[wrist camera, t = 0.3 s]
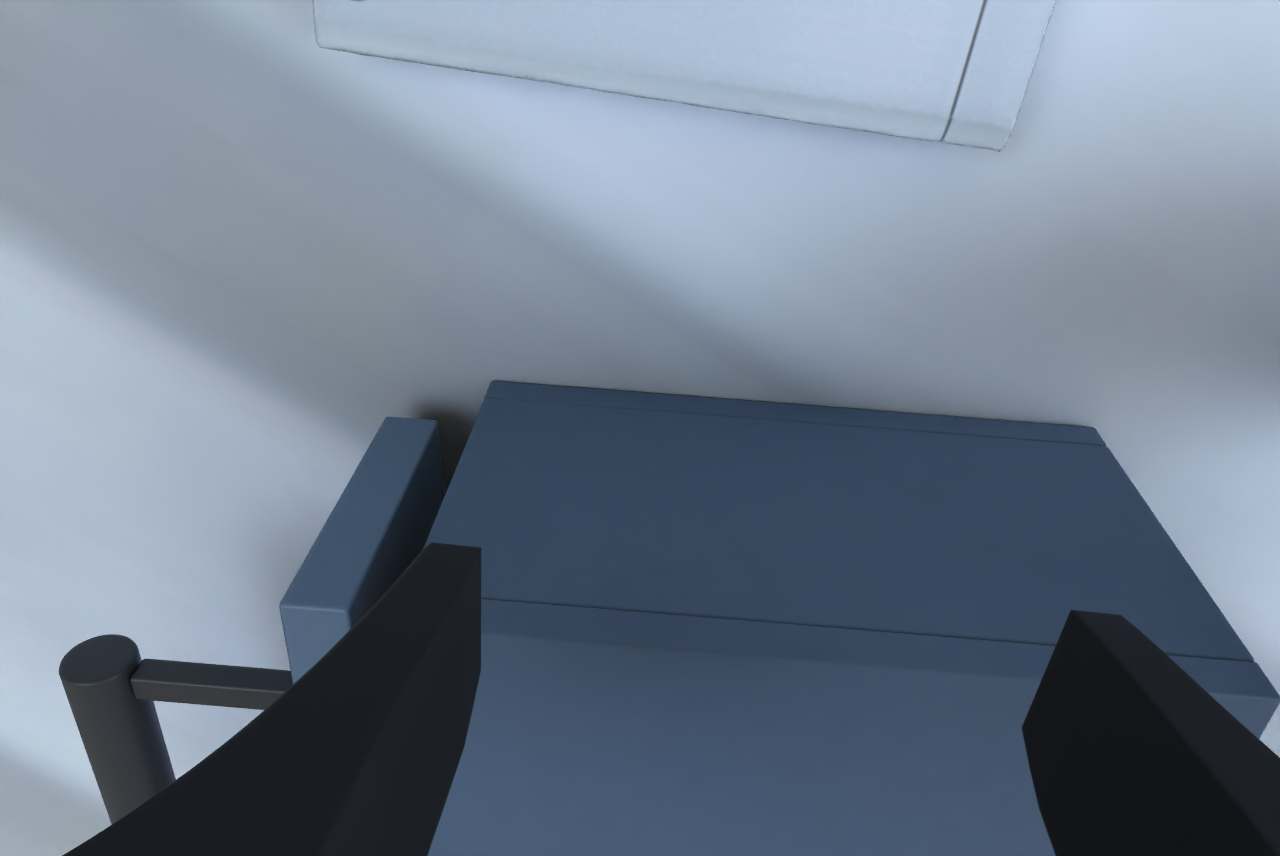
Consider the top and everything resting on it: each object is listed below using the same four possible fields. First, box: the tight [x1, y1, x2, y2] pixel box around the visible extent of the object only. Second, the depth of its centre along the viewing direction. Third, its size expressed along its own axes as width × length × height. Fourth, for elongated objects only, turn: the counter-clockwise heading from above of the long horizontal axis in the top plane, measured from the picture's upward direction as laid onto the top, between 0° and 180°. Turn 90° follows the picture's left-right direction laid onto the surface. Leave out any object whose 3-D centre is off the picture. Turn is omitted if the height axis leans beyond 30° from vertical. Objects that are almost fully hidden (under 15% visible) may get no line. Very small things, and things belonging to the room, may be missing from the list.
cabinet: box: [424, 381, 1280, 856], centre depth 22 cm, size 14×15×8 cm
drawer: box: [59, 417, 443, 824], centre depth 22 cm, size 18×13×6 cm
